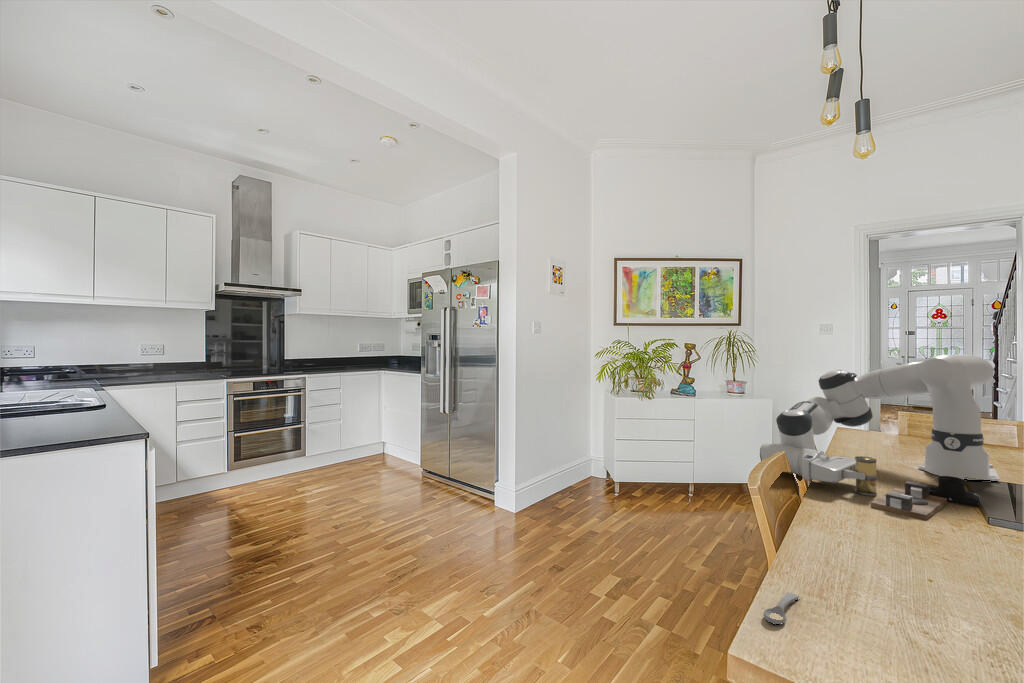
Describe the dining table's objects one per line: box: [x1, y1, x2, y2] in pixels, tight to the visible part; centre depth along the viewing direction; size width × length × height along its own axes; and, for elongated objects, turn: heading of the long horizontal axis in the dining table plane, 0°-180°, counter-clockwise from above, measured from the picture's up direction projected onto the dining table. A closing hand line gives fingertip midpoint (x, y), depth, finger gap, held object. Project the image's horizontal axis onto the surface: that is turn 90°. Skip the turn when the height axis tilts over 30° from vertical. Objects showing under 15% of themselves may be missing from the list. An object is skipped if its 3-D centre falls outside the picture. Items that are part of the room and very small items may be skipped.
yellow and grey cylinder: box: [854, 455, 878, 497], centre depth 129 cm, size 5×5×10 cm
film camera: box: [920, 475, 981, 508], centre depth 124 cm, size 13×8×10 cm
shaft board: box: [870, 480, 948, 521], centre depth 120 cm, size 20×11×4 cm, turn 126°
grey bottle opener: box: [763, 591, 800, 624], centre depth 73 cm, size 3×12×2 cm, turn 133°
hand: (869, 474), depth 128 cm, fingers closed on yellow and grey cylinder, 5 cm apart
